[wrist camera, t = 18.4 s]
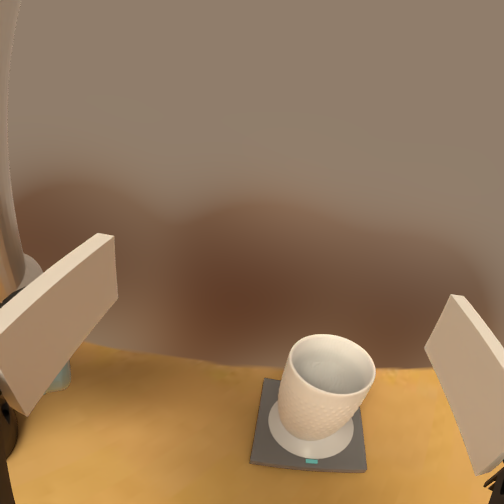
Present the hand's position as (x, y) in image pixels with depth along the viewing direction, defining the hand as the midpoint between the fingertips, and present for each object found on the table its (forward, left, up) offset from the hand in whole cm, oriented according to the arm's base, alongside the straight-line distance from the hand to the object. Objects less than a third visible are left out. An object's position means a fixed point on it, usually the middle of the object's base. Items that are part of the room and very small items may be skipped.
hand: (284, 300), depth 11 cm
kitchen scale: (+10, +18, -32) cm, 38 cm away
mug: (+9, +19, -31) cm, 38 cm away
